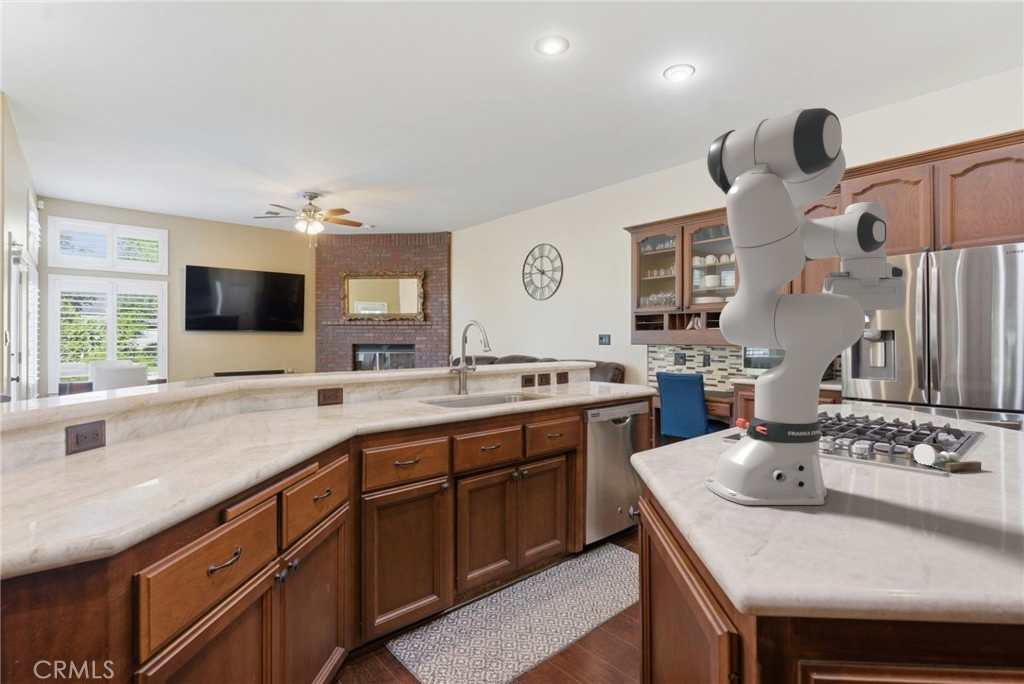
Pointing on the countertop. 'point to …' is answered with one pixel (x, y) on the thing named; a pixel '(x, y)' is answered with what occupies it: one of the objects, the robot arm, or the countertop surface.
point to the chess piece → (932, 455)
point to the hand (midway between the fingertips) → (862, 329)
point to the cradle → (953, 464)
